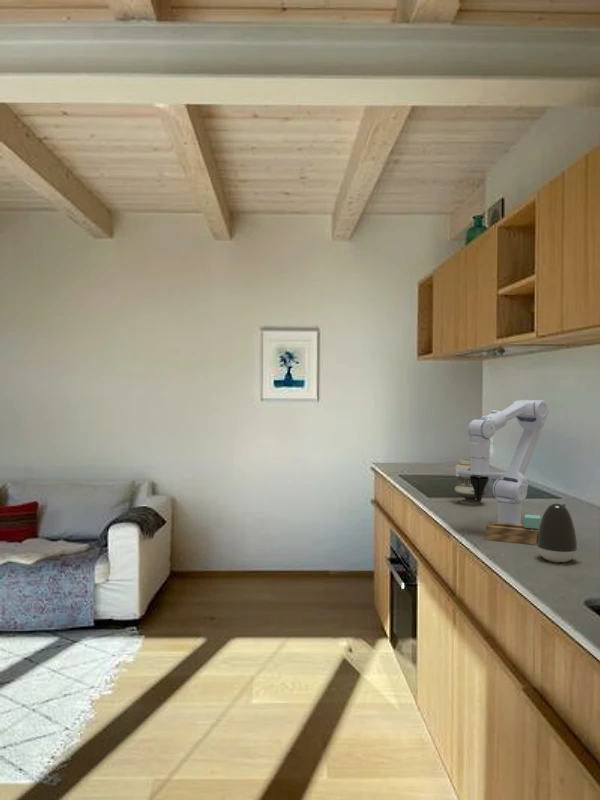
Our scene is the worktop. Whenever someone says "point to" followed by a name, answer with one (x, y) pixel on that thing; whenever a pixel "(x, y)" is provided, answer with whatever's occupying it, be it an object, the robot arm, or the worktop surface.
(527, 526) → the block
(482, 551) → the worktop surface
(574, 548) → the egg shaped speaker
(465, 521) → the worktop surface
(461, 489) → the apothecary jar
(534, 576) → the worktop surface
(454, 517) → the worktop surface
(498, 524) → the slotted wooden block
